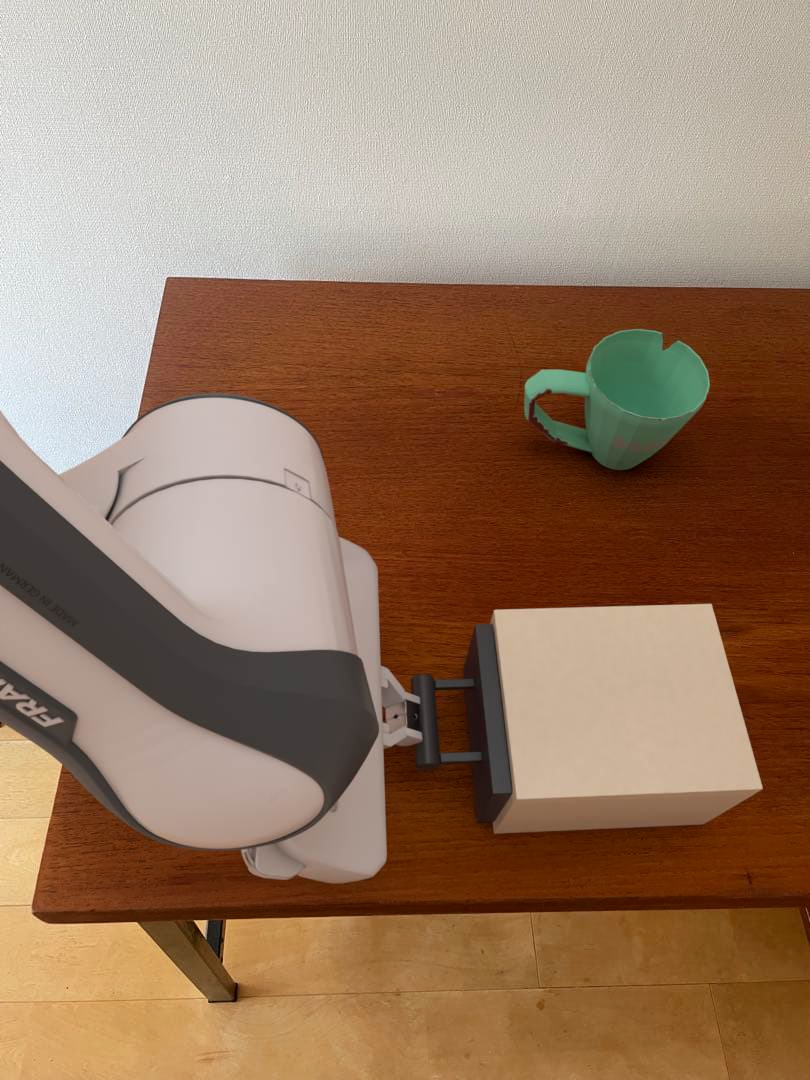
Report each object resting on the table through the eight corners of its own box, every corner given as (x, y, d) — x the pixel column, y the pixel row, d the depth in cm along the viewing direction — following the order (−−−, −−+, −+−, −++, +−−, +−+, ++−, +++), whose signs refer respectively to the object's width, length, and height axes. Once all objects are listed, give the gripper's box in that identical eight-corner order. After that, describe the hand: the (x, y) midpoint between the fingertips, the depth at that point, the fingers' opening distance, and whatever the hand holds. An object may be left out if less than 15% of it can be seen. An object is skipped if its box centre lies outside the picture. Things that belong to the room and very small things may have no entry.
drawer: (414, 825, 54) (420, 796, 47) (405, 671, 60) (410, 626, 53) (672, 814, 55) (715, 784, 48) (640, 663, 61) (674, 618, 54)
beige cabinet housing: (493, 833, 55) (516, 799, 46) (476, 666, 61) (493, 609, 53) (703, 824, 56) (763, 789, 47) (665, 660, 62) (712, 603, 54)
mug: (657, 406, 76) (694, 328, 67) (680, 492, 70) (724, 418, 62) (504, 408, 75) (521, 328, 66) (516, 495, 70) (537, 420, 61)
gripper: (275, 864, 36) (465, 887, 45) (288, 492, 47) (440, 571, 56) (192, 883, 40) (384, 901, 49) (222, 533, 50) (375, 601, 59)
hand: (414, 722), depth 52 cm, fingers closed, pressing on drawer
